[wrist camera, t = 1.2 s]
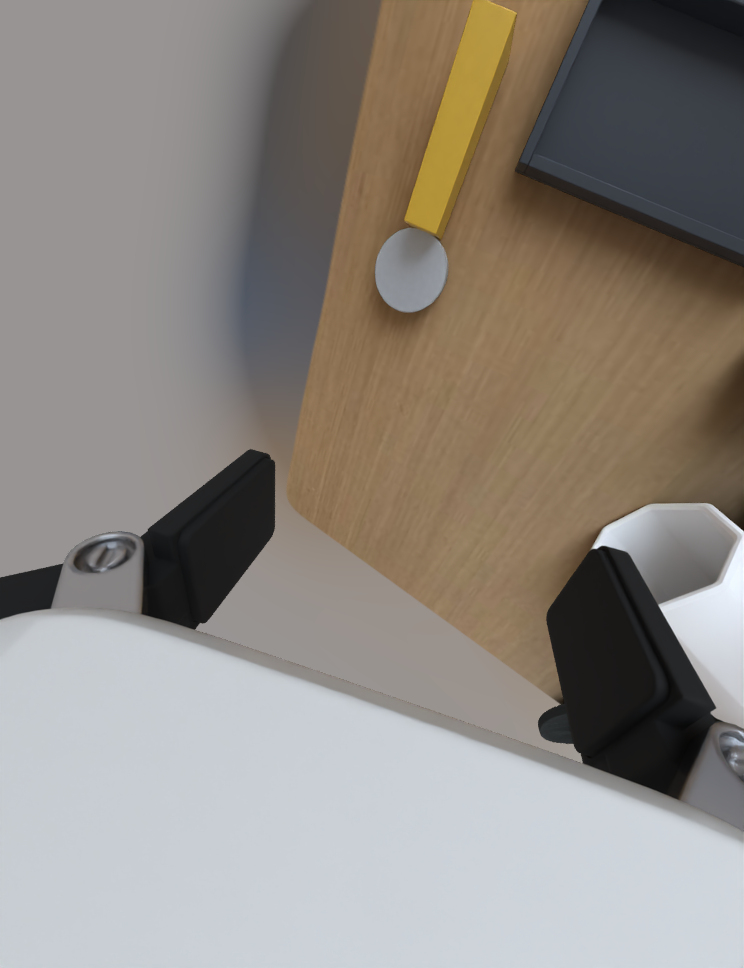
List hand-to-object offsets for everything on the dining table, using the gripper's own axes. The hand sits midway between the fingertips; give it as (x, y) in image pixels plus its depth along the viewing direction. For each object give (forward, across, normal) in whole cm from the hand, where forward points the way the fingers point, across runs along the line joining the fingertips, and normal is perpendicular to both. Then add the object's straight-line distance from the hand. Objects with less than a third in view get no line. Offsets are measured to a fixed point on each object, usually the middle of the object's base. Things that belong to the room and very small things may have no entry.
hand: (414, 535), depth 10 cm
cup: (+17, -35, +19) cm, 44 cm away
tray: (+23, -10, -15) cm, 29 cm away
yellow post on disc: (+23, +4, -10) cm, 25 cm away
